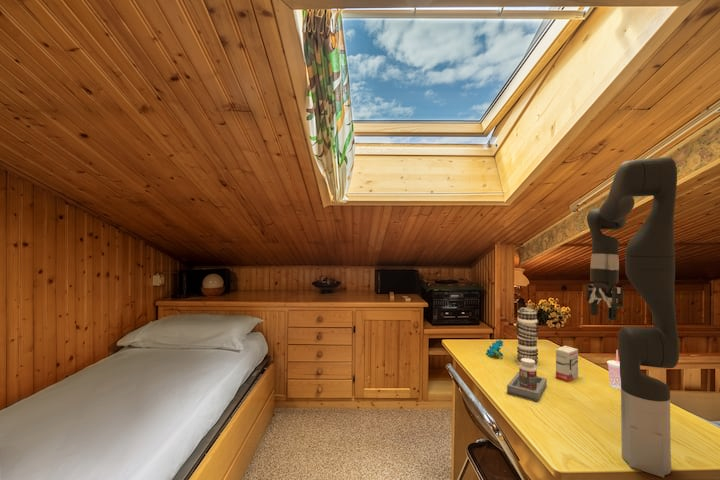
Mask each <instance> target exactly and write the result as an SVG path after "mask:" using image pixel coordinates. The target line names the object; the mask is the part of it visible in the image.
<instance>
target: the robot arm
mask: <svg viewBox="0 0 720 480" xmlns="http://www.w3.org/2000/svg"><path fill="white" fill-rule="evenodd" d="M611 183H612V184H611V185H610V189H609V193H608V196H607V198H606V199H605V200H604V202H603V203H602V204H601V206H600V207H599V208H592V209H590V211H589V212H588V213H587V215H586V223H587V226H588V229H589V232H590V235H591V246H592V247H591V258H590V271H589V272H590V274H589V275H590V276H589V278H590V279H589V280H590V282H593V283H587V284H586V290H585V291H586V292H585V301H586V302H588V303H589V305H590V306H589V314H590V315H591V316H598V315H599V303H600V301H602V300H603V301H604V302H605V303H606V305H607V306H608V307H607V320H609V321H616V320H617V317H618V316H617V315H618V313H617V311H618V310H617V309H619V308H623V307H624V289H623V287H618V286H616V285H615V284H618V283H619V273H620V272H619V270H620V260H619V259H620V258H619V245H620V244H619V242H620V241H619V239H618V238H617V237H614V236H610V235H606V234H604V233H603V232H602V230H606V231H607V230H608V231H609V230H612V231H616V230H621V229H623V228H624V227H625V225H626V223H627V216H628V215H629V214H630V213H631V211H632V210H633V209H634V207H635V199H634V197H635V198H637V197H652V198H653V200H652V201H653V202H652V206H651V209H650V213H649V215H648V217H647V218H646V219H645V220H644V223H642V226H640V228H638V230H637V231H636V233H635V234H634V235H633V236H632V238H631V239H630V240H629V242H628V243H627V245H626V247H625V252H624V253H625V254H624V255H625V258H624V259H625V260H624V261H625V262H624V263H625V267H624V268H625V276H626V278H627V279H628V281H629V283H630V284H631V285H632V287H633V288H634V289H635V290H636V292H638V295H640V297H641V298H642V300H643V301H645V304H646V305H647V306H648V308H649V311H650V313H651V315H652V320H653V327H639V326H622V327H621V328H620V329H619V331H618V335H617V336H618V337H617V348H618V349H617V350H618V361H619V362H620V378H621V390H620V426H621V427H620V428H621V429H620V430H621V431H620V432H621V433H620V434H621V437H620V438H621V457H622V459H623V460H624V461H625V462H626V463H627V464H628V466H629V467H630V468H632V469H636V470H639V471H642V472H645V473H647V474H651V475H655V476H656V477H657V476H658V477H660V478H663V479H665V476H666V475H669V474H671V472H672V452H671V451H672V450H671V449H672V445H671V443H672V442H671V441H672V440H671V439H672V437H671V431H672V430H671V389H670V387H669V386H668V385H667V384H666V383H665V382H664V381H662V380H660V379H656V377H652V376H651V375H648V374H645V373H643V371H642V370H641V367H650V368H659V369H662V368H663V369H673V368H675V367H676V366H678V363H679V359H680V344H679V342H680V341H679V334H678V325H677V316H676V307H675V306H676V305H675V304H676V301H675V293H676V291H675V287H676V286H675V281H676V251H675V227H674V226H675V221H674V220H675V209H676V208H675V207H676V197H677V187H678V168H677V164H676V162H675V160H674V159H673V158H672V157H667V156H666V157H665V156H663V157H651V158H637V159H629V160H626V161H624V162H622V163H621V164H620V165H619V167H618V168H617V170H616V172H615V174H614V178H613V180H612V182H611Z"/></svg>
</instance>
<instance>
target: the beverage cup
mask: <svg viewBox="0 0 720 480" xmlns="http://www.w3.org/2000/svg"><path fill="white" fill-rule="evenodd" d="M615 351H616V352H615V353H616V354H615V355H616V356H615V358H616V360H614V359H613V360H611V359H610V360H607V361H606V362H607V366H608V378H609V386H610V387H611V389H612V388H613V389H616V390H619V391H621V378H620V362H619V349H616V350H615Z"/></svg>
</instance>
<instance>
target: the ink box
mask: <svg viewBox="0 0 720 480" xmlns="http://www.w3.org/2000/svg"><path fill="white" fill-rule="evenodd" d="M578 378H579V349H578V348H576V347H575V348H574V347H571V346H568V345H563V346H561V347H558V348H556V349H555V379H557V380H560V381H564V382H567V383H569V382H572V381H573V380H577V379H578Z"/></svg>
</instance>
